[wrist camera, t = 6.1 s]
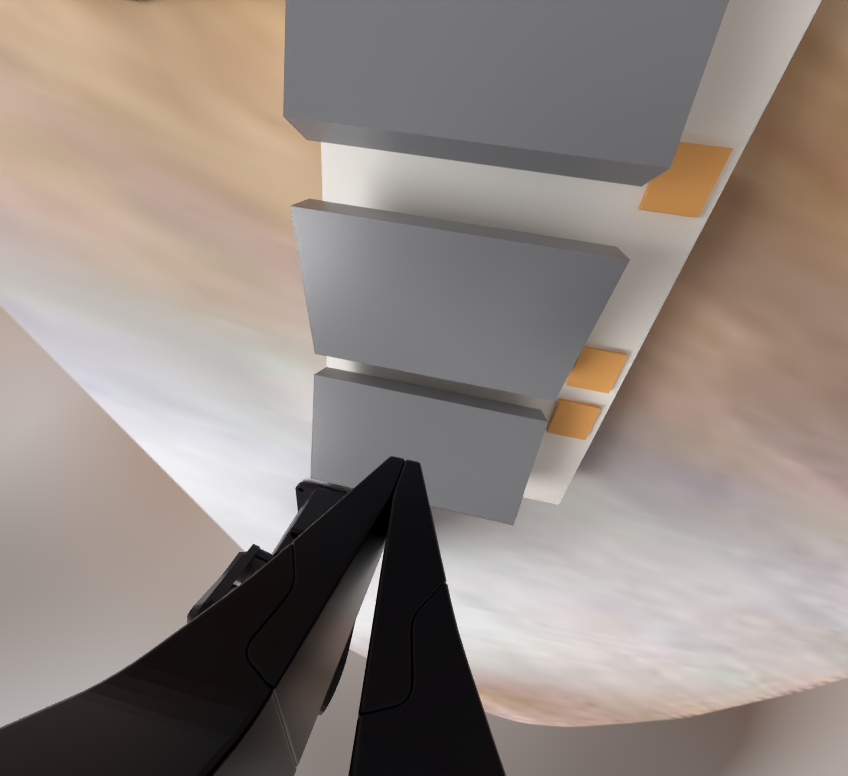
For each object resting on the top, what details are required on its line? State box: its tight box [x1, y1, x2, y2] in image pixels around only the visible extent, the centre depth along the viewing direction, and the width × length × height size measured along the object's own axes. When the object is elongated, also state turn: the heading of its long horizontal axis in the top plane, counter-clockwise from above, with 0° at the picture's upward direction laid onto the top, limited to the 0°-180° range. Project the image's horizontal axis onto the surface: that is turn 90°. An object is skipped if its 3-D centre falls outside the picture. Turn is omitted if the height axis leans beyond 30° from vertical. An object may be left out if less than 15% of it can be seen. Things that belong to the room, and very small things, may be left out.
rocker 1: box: [283, 0, 729, 187], centre depth 8 cm, size 6×11×1 cm, turn 83°
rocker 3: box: [311, 367, 548, 525], centre depth 16 cm, size 6×11×1 cm, turn 83°
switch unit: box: [321, 0, 822, 505], centre depth 15 cm, size 23×15×4 cm, turn 172°
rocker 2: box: [290, 199, 630, 401], centre depth 12 cm, size 6×11×1 cm, turn 82°
